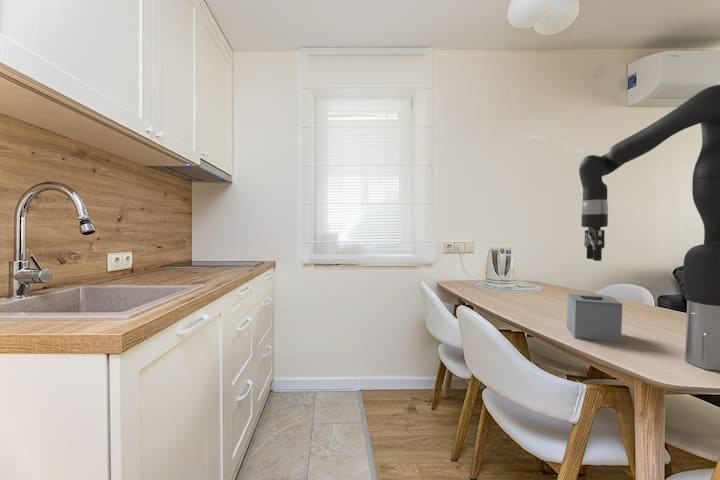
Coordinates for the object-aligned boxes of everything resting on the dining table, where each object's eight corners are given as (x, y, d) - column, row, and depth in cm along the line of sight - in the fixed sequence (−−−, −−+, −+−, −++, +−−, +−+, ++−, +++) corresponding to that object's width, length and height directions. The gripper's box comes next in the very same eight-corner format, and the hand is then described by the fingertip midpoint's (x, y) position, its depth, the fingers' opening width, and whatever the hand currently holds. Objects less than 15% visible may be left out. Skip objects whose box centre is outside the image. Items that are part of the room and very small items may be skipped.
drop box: (621, 342, 109) (622, 303, 108) (574, 338, 114) (575, 300, 113) (608, 331, 121) (609, 296, 120) (566, 327, 126) (567, 293, 125)
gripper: (614, 212, 108) (613, 261, 108) (601, 214, 121) (600, 258, 122) (587, 212, 111) (586, 261, 111) (577, 214, 124) (576, 258, 124)
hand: (593, 259), depth 116 cm, fingers open, 8 cm apart
